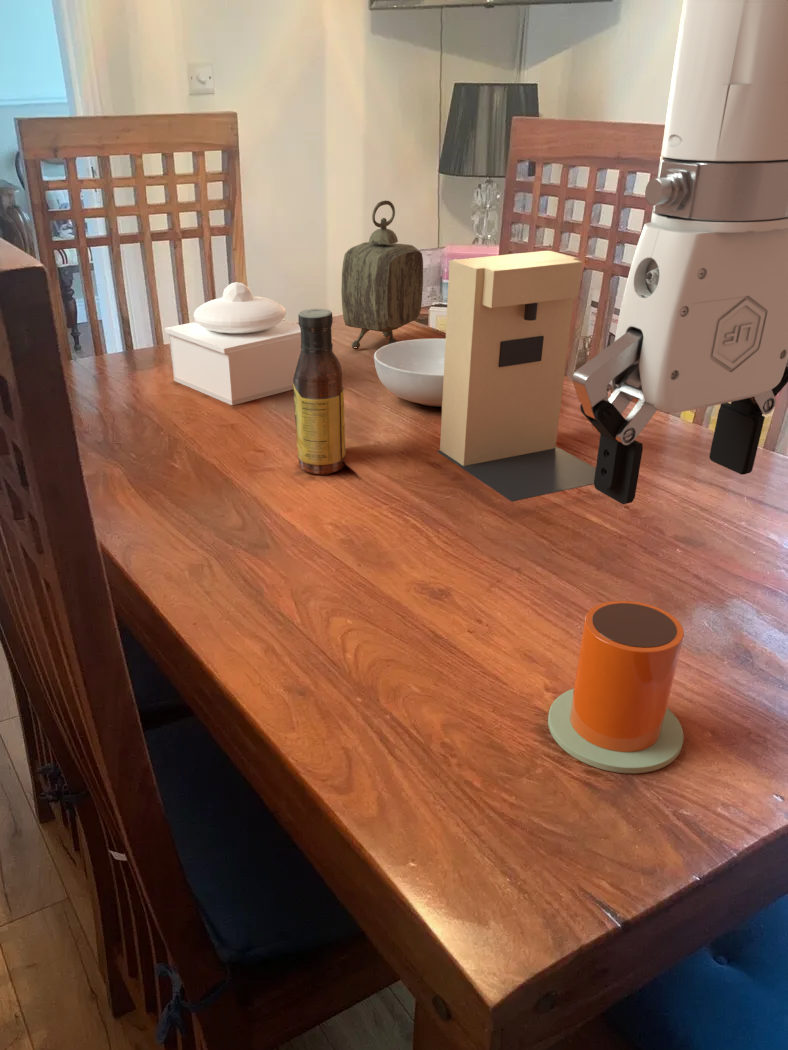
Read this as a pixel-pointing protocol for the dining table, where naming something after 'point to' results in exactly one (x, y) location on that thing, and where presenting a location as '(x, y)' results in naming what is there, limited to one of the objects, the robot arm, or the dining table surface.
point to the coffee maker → (510, 372)
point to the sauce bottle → (319, 397)
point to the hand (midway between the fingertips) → (672, 481)
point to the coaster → (608, 759)
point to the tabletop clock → (381, 282)
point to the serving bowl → (413, 370)
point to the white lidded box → (236, 347)
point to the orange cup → (625, 675)
